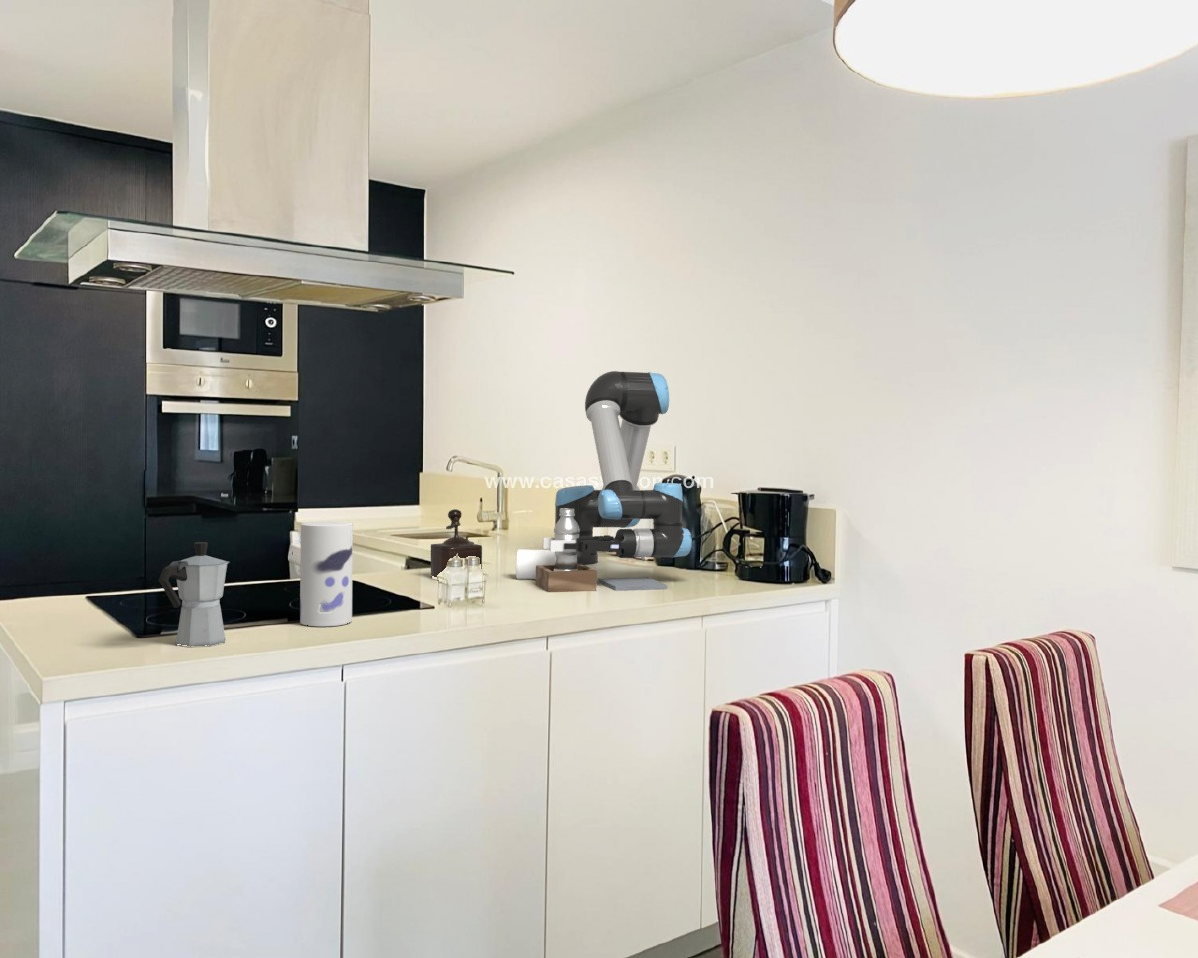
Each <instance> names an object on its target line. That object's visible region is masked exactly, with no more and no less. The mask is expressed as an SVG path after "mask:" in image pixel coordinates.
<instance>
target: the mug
mask: <svg viewBox="0 0 1198 958" xmlns="http://www.w3.org/2000/svg"><path fill="white" fill-rule="evenodd" d="M536 565H555V552H550V549H525V548H524V549H523V548H522V549H520V548H519V549H517V551H516V558H515V577H516V580H535V581H536Z"/></svg>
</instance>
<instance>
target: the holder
mask: <svg viewBox="0 0 1198 958" xmlns="http://www.w3.org/2000/svg"><path fill="white" fill-rule="evenodd" d="M554 566H555V565H536V580H535V585H536V586H537V587H539V588H541V589H542V590H544V591H545V592H547V593H560V592H561V593H562V592H564V593H565V592H566V593H568V592H592V591H594V592H595V591H597V574H598V573H597V572H598V571H597V570H596V569H594V568H592V567H589V566H586V564H577V569H578V570H576V571H554Z"/></svg>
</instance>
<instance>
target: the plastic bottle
mask: <svg viewBox="0 0 1198 958" xmlns="http://www.w3.org/2000/svg"><path fill="white" fill-rule="evenodd" d="M559 516H560V519H559V521H558V522H557V524H556V525H555V524H554V528H553V533H554V534H553V535H554V538H555V540H576V543H577V538H579V533H580V529H579V526H578V524H577V522H576V521H575V520H574V517H573V516H575V514H574V509H571V508H561V509H560V514H559ZM576 550H577V549H576ZM576 570H578V569H577V551H556V557H555V566H554V571H576Z"/></svg>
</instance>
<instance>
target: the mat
mask: <svg viewBox="0 0 1198 958" xmlns="http://www.w3.org/2000/svg"><path fill="white" fill-rule="evenodd" d="M597 583H598V584H601V585H603V586H605V587H606V588H609V589H611V590H613V591H639V590H642V591H643V590H645V591H648V590H667V589H668V584H666V583H663V582H661V581H658V580H656V579H653V578H651V577H648V576H647V577H646V576H645V577H644V576H643V577H617V578H616V577H615V578H613V577H611V578H609V577H607V578H598V582H597Z"/></svg>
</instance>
